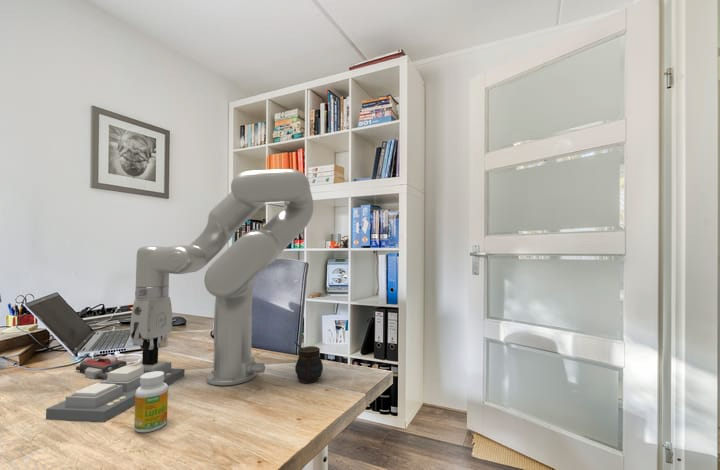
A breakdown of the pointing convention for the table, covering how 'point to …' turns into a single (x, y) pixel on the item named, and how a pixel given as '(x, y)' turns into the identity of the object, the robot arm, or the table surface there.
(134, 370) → the button
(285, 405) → the table surface
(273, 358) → the table surface
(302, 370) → the mate gourd
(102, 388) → the button
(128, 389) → the button panel
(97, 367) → the walkie-talkie
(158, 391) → the supplement bottle
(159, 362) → the button
